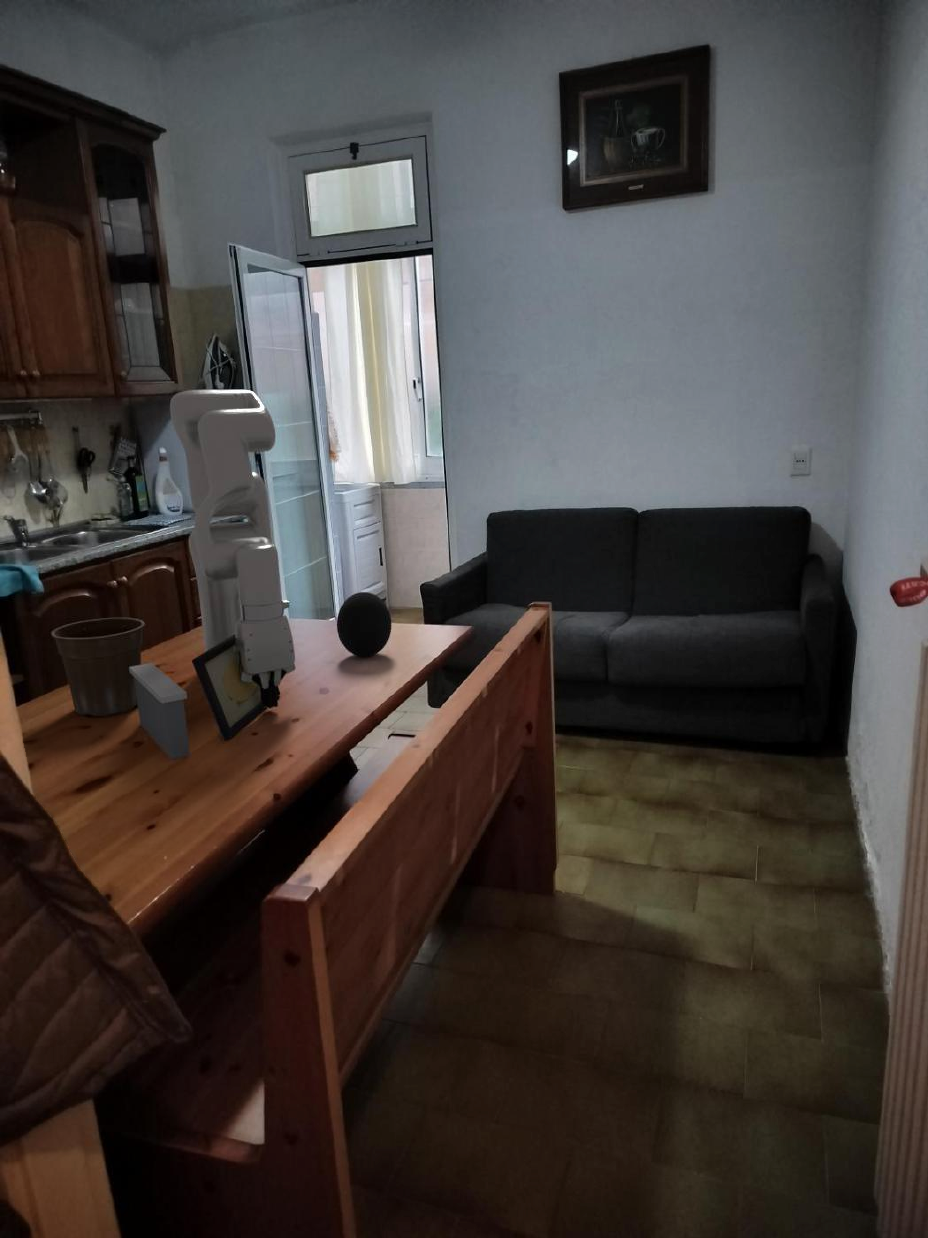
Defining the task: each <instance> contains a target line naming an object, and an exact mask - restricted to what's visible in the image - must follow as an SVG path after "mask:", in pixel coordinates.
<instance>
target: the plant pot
mask: <svg viewBox="0 0 928 1238" xmlns="http://www.w3.org/2000/svg"><path fill="white" fill-rule="evenodd" d="M144 627H145V622H144V620H141V619H138V618H132V617H105V618H96V619H87V620H82V621H81V620H80V621H78V622H73V623H69V624H65V625H62V626H60V627H57V628H55V629H54V630H52V631H51V637H52V638H54V639H55V643H56V647H57V650H58V654H59V655H60V656H61V660H62V662H63V663H62V664H63V667H64V671H65V674H66V679H67V683H68V685H69V691H70V694H71V699H72V700H71V701H72V704H73V708H74V711H75V713H76V714H78V715H80V716H83V717H86V716H88V715H90V716H92V717H96V718H97V717H107V716H108V717H111V716H114V715H119V714H122V713H126V712H129V711H132V710H133V709H134V707H138V704H137V696H136V689H135V682H134V676H133V675H132V674H131V673H130V671H129V667H132V666H137V665H142V645H143V629H144Z"/></svg>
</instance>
